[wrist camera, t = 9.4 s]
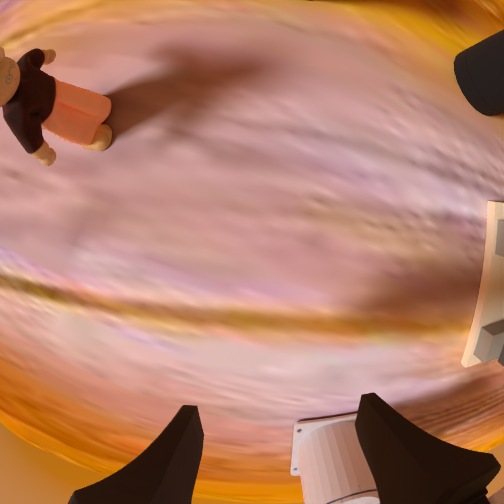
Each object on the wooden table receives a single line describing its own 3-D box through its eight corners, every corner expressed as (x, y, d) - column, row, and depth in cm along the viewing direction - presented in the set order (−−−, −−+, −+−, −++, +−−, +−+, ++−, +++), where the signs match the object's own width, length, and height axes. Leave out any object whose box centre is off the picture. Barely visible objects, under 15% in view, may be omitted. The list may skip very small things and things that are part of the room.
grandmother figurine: (130, 150, 17) (-14, 116, 5) (87, 174, 18) (-57, 175, 5) (106, 66, 16) (-1, -7, 3) (67, 91, 16) (-48, 47, 4)
